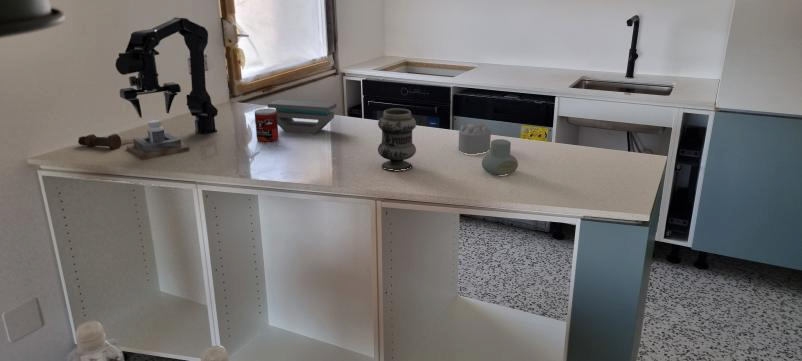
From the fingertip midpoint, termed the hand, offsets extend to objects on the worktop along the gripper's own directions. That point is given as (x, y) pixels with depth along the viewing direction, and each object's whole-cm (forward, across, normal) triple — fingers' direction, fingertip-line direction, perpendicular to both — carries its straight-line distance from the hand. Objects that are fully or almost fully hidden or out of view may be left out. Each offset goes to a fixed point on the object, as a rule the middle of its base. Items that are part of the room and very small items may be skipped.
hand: (154, 115), depth 206 cm
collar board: (+12, +1, +2) cm, 12 cm away
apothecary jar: (+12, -49, +71) cm, 88 cm away
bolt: (+12, +16, -15) cm, 25 cm away
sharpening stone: (+12, -51, +13) cm, 54 cm away
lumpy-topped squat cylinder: (+12, -81, +74) cm, 111 cm away
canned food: (+12, -34, +16) cm, 39 cm away
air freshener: (+12, -69, +96) cm, 119 cm away
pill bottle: (+11, +1, +2) cm, 11 cm away
